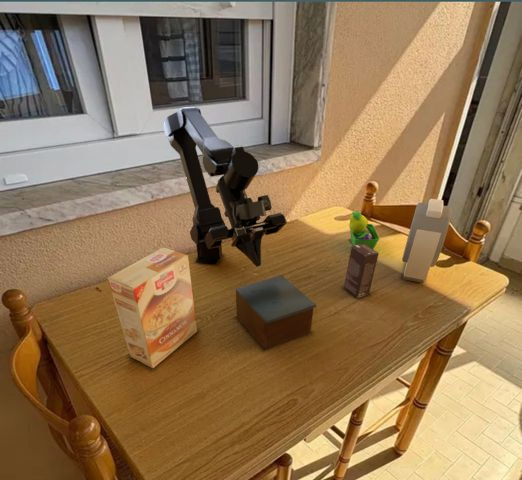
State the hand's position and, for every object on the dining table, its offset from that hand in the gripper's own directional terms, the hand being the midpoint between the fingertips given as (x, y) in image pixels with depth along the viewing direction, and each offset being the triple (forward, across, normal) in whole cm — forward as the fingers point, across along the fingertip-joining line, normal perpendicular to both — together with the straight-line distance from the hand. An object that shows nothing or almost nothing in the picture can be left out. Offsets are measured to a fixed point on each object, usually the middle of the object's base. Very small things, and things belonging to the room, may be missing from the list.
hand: (258, 265), depth 87 cm
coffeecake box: (+10, -25, +8) cm, 28 cm away
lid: (+8, 0, -2) cm, 9 cm away
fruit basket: (-2, +45, +20) cm, 49 cm away
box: (+12, +27, +5) cm, 30 cm away
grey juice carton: (+13, +49, +5) cm, 50 cm away
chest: (+14, 0, +4) cm, 14 cm away
